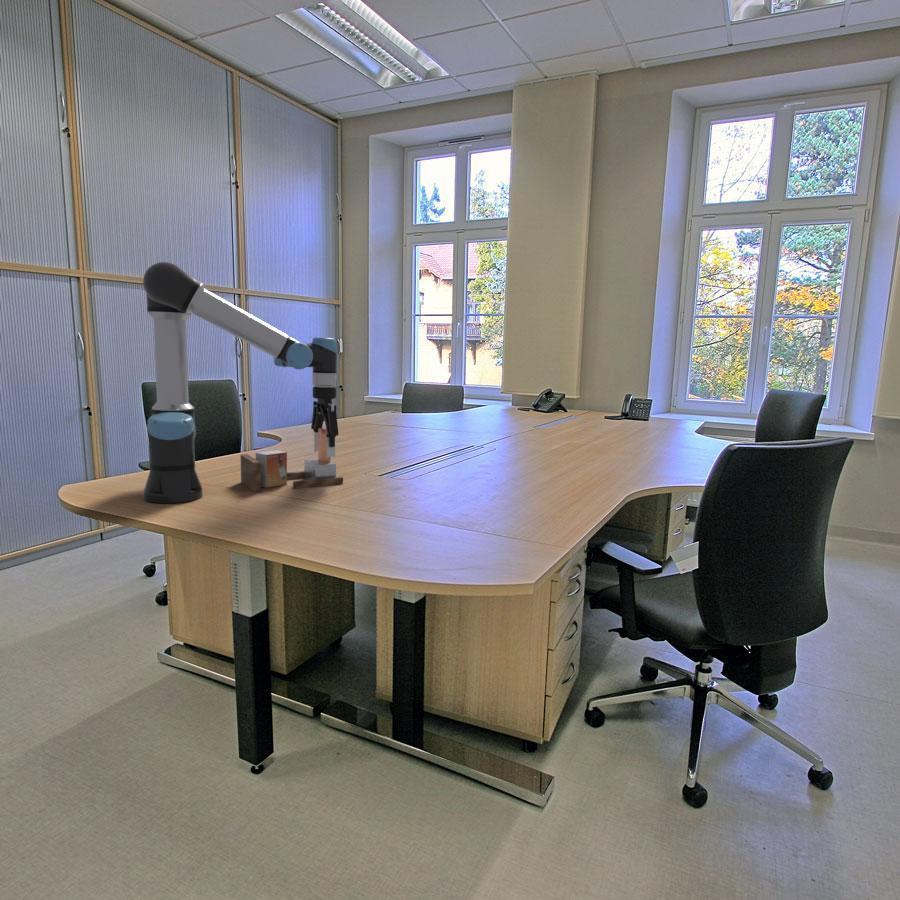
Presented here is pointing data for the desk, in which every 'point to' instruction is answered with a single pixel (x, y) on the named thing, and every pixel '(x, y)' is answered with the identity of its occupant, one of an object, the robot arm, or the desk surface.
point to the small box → (272, 468)
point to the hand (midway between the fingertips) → (324, 453)
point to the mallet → (320, 461)
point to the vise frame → (253, 476)
